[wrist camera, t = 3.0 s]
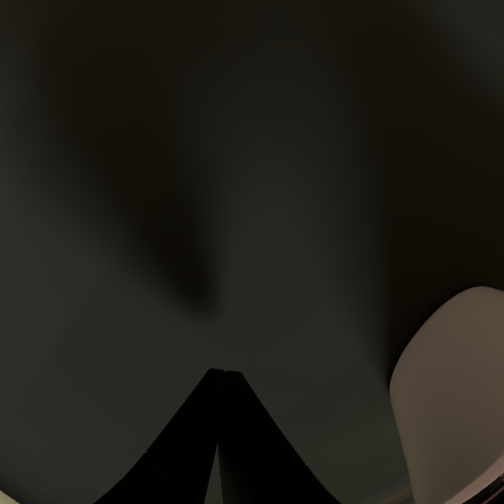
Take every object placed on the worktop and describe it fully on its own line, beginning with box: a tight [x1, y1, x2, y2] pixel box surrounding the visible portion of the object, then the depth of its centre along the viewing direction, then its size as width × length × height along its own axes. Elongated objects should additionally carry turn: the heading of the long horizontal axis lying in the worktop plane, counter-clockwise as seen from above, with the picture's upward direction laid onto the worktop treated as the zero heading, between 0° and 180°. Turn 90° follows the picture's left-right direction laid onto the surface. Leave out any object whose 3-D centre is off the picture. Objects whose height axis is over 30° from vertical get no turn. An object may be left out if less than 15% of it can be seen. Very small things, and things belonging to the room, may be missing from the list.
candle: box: [389, 286, 504, 504], centre depth 6 cm, size 9×9×6 cm
